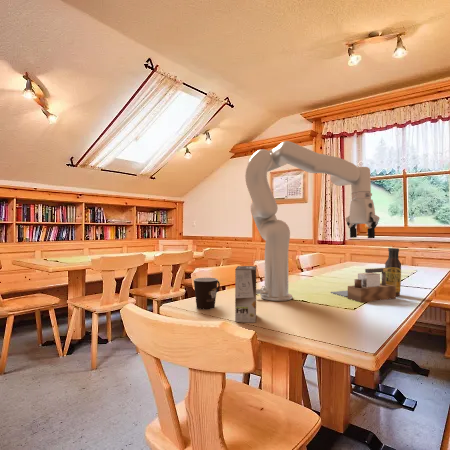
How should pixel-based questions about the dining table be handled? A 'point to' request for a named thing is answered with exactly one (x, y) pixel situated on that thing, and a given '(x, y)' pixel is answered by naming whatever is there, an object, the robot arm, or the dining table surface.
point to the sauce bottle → (393, 269)
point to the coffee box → (245, 294)
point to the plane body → (371, 291)
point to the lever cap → (369, 279)
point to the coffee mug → (206, 292)
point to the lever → (376, 270)
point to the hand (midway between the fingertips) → (362, 237)
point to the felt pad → (341, 293)
